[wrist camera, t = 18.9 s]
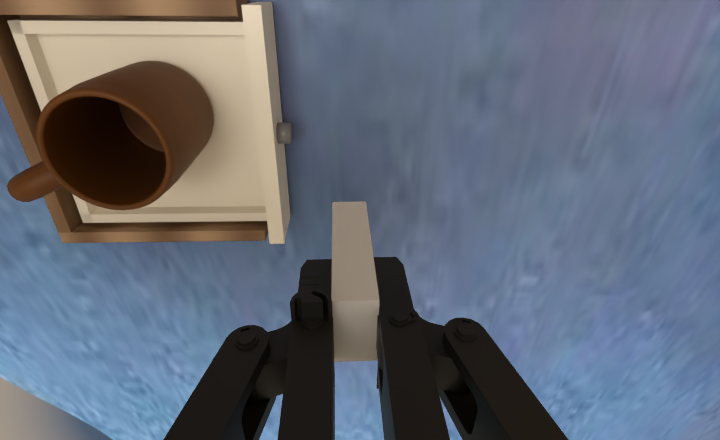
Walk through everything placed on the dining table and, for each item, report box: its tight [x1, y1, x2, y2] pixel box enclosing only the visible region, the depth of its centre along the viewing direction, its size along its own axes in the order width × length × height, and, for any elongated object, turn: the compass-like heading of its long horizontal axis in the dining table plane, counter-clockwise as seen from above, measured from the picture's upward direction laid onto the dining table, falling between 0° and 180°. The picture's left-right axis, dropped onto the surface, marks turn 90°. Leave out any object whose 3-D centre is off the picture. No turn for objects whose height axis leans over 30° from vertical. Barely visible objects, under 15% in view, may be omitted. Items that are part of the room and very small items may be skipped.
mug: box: [7, 61, 214, 210], centre depth 28 cm, size 12×8×9 cm, turn 112°
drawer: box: [7, 2, 292, 244], centre depth 32 cm, size 18×18×5 cm
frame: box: [0, 0, 268, 243], centre depth 32 cm, size 17×18×4 cm
